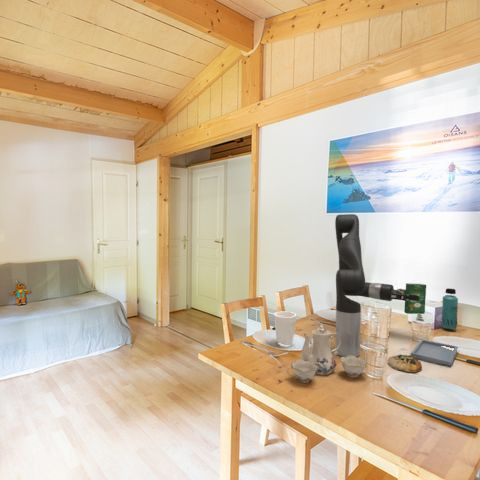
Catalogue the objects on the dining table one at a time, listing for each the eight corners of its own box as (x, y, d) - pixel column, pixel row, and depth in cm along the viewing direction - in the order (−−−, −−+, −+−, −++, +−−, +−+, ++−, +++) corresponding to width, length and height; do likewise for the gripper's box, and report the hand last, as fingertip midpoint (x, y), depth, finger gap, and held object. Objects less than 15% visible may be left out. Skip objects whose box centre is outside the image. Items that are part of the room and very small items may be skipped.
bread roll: (417, 361, 123) (418, 349, 122) (425, 379, 112) (425, 365, 111) (385, 359, 126) (385, 347, 125) (390, 376, 115) (390, 363, 114)
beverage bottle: (438, 328, 160) (439, 288, 158) (446, 327, 162) (448, 286, 161) (451, 333, 154) (453, 290, 153) (460, 331, 157) (461, 289, 155)
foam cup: (289, 350, 133) (289, 319, 132) (269, 345, 139) (269, 315, 138) (299, 343, 141) (300, 313, 140) (281, 339, 146) (281, 310, 146)
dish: (450, 367, 117) (450, 362, 117) (410, 358, 126) (410, 353, 126) (457, 351, 132) (457, 346, 132) (421, 343, 140) (421, 339, 140)
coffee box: (421, 312, 146) (422, 283, 145) (425, 314, 143) (426, 284, 143) (403, 312, 146) (405, 283, 145) (407, 314, 143) (408, 284, 142)
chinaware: (297, 395, 102) (300, 345, 100) (276, 367, 118) (278, 323, 115) (373, 382, 110) (378, 336, 108) (344, 358, 126) (348, 316, 123)
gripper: (376, 285, 147) (417, 291, 137) (385, 281, 159) (424, 286, 148) (376, 302, 148) (417, 308, 137) (385, 297, 159) (424, 302, 148)
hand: (420, 297), depth 143 cm, fingers closed on coffee box, 7 cm apart
